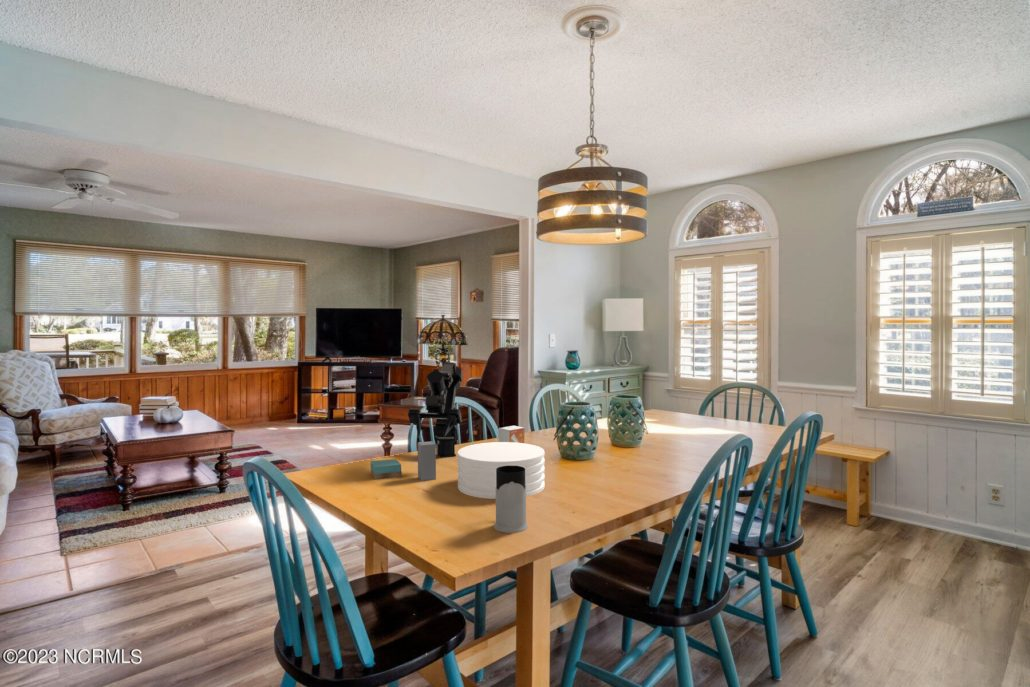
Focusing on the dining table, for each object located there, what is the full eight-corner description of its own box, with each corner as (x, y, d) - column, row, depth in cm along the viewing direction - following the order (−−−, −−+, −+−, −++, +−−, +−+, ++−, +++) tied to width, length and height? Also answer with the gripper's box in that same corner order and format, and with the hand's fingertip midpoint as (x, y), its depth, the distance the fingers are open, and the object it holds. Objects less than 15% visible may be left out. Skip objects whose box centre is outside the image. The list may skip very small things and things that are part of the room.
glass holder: (494, 533, 143) (494, 474, 142) (492, 514, 157) (492, 460, 156) (529, 532, 143) (529, 473, 143) (524, 513, 158) (523, 459, 157)
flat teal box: (396, 472, 204) (396, 465, 204) (401, 478, 196) (401, 471, 196) (371, 474, 201) (370, 467, 200) (375, 481, 192) (375, 474, 192)
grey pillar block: (432, 475, 197) (431, 441, 196) (436, 479, 192) (435, 444, 192) (418, 477, 195) (417, 442, 194) (421, 481, 190) (420, 445, 190)
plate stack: (489, 470, 204) (488, 438, 203) (559, 481, 189) (559, 447, 189) (440, 490, 180) (439, 454, 179) (516, 505, 165) (516, 465, 165)
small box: (509, 465, 211) (509, 430, 210) (498, 462, 216) (497, 427, 215) (525, 461, 217) (524, 427, 216) (513, 458, 221) (513, 425, 221)
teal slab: (396, 465, 204) (396, 458, 204) (401, 471, 196) (401, 464, 196) (370, 467, 201) (370, 461, 200) (374, 474, 192) (374, 467, 192)
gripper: (408, 386, 205) (400, 422, 195) (459, 386, 204) (454, 422, 193) (414, 405, 214) (406, 440, 203) (463, 405, 212) (458, 441, 201)
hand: (431, 435), depth 200 cm, fingers open, 9 cm apart
